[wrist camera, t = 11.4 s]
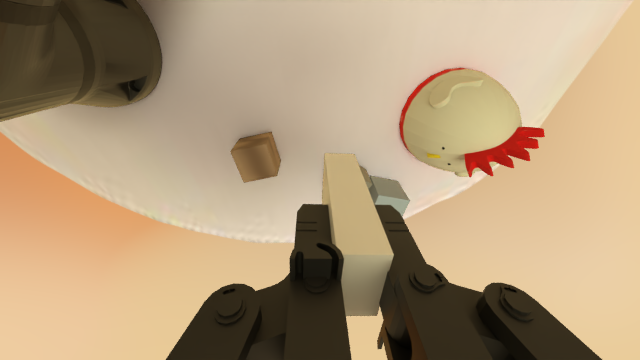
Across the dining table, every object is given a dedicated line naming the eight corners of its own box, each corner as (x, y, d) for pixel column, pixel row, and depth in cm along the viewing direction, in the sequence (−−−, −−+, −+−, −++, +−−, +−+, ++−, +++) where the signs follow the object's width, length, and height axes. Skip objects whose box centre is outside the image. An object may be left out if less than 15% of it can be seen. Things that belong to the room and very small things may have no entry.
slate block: (361, 199, 43) (368, 221, 38) (370, 175, 41) (378, 195, 35) (387, 204, 44) (397, 225, 39) (397, 180, 41) (409, 200, 36)
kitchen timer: (385, 102, 35) (429, 138, 22) (481, 46, 32) (601, 49, 19) (417, 174, 41) (467, 235, 28) (500, 132, 38) (601, 180, 25)
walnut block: (251, 167, 39) (243, 182, 35) (239, 138, 37) (230, 151, 32) (280, 160, 39) (277, 175, 34) (271, 131, 36) (266, 143, 32)
